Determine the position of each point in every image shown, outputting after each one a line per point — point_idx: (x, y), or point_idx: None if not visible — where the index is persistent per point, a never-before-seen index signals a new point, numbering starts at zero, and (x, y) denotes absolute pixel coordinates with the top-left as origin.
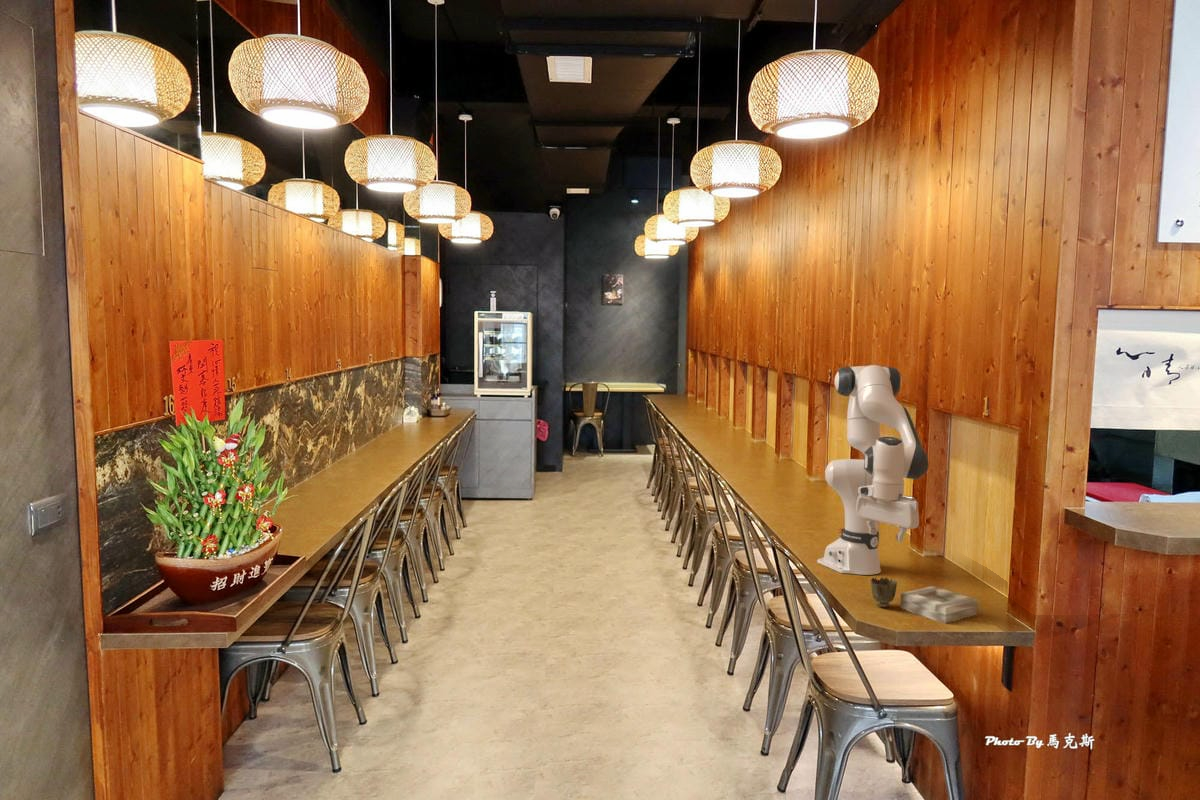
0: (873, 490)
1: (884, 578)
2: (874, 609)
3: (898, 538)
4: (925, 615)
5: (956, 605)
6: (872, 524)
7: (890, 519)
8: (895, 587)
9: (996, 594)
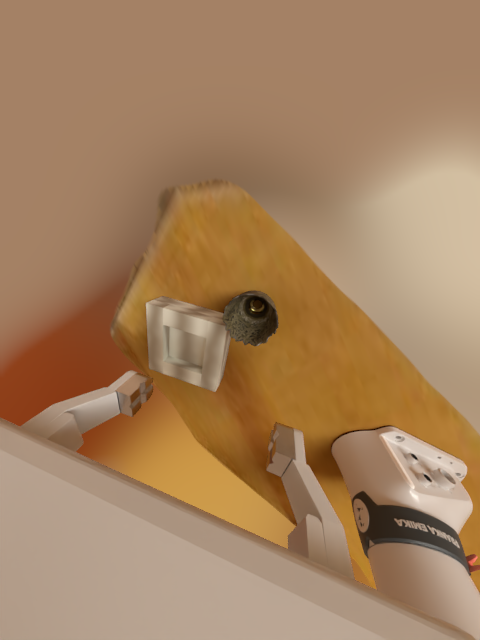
0: None
1: (259, 343)
2: (260, 278)
3: (124, 379)
4: (191, 305)
5: (147, 327)
6: (297, 506)
7: (31, 517)
8: (226, 317)
9: (191, 431)
